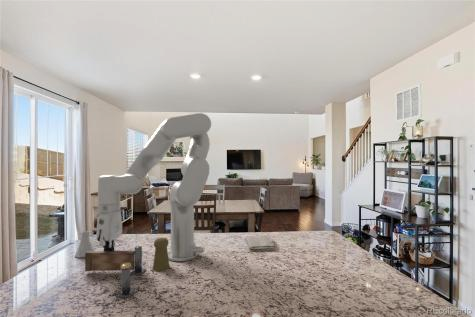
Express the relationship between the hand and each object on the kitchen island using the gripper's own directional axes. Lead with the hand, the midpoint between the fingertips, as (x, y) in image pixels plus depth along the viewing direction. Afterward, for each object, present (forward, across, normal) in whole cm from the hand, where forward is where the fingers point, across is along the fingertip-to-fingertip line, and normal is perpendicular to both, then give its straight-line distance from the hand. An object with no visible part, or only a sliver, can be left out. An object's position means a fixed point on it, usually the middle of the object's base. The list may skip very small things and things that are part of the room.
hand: (109, 257), depth 94 cm
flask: (+4, +13, +18) cm, 23 cm away
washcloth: (+5, +29, -57) cm, 64 cm away
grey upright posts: (+4, -10, -14) cm, 17 cm away
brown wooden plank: (+3, -3, -2) cm, 5 cm away
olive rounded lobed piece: (+4, +2, -19) cm, 20 cm away
